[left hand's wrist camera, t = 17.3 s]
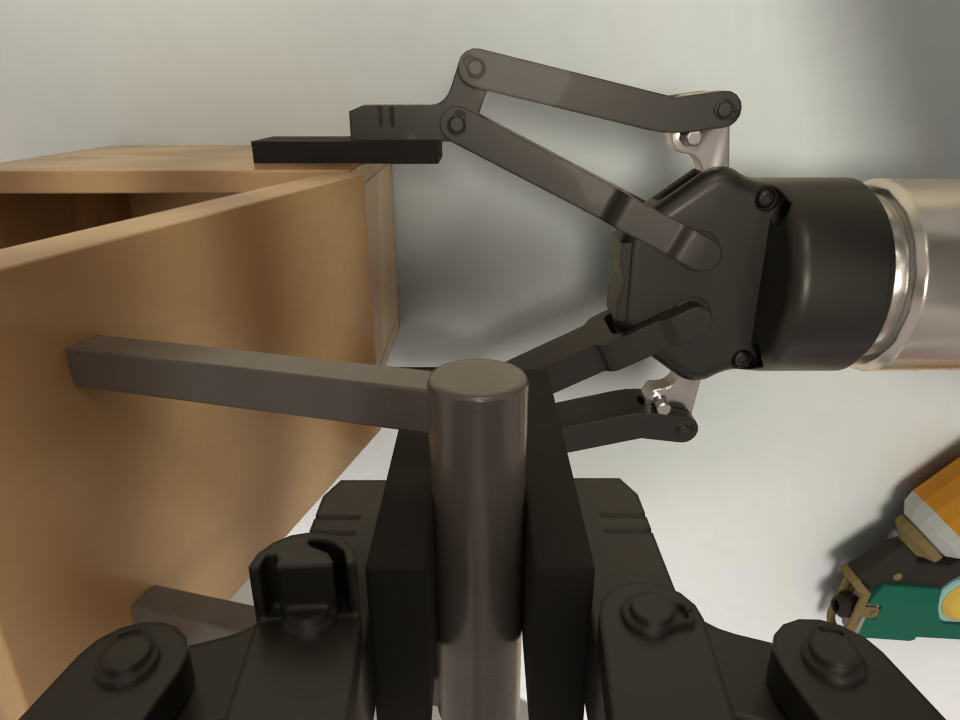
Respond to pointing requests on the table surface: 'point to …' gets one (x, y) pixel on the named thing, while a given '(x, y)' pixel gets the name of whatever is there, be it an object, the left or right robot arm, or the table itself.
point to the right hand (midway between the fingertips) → (279, 277)
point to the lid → (231, 433)
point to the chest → (181, 200)
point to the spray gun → (909, 570)
